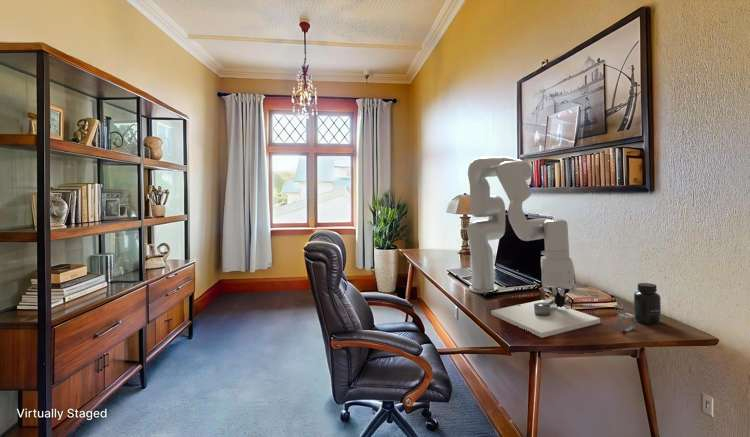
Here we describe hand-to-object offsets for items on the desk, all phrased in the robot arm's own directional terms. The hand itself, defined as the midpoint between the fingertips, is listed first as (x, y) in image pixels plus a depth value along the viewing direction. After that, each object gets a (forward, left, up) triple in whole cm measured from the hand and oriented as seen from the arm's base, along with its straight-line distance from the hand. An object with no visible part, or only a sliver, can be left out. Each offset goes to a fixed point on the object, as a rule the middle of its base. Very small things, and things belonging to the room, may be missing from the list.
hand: (560, 306), depth 127 cm
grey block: (-1, -5, -1) cm, 5 cm away
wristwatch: (+20, +4, -3) cm, 21 cm away
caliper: (-1, +16, -3) cm, 16 cm away
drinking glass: (-22, +17, -3) cm, 28 cm away
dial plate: (0, -9, -3) cm, 9 cm away
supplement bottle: (+18, +16, -3) cm, 25 cm away
